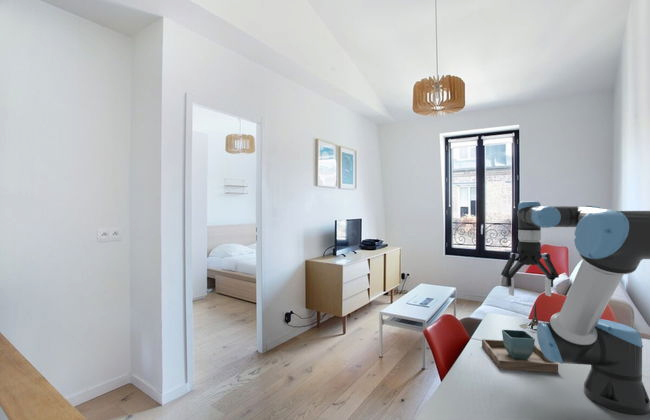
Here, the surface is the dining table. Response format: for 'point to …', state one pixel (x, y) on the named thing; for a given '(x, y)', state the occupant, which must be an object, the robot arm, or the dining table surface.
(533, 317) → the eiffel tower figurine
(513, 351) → the flower pot
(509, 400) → the dining table surface
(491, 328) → the dining table surface
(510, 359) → the box
